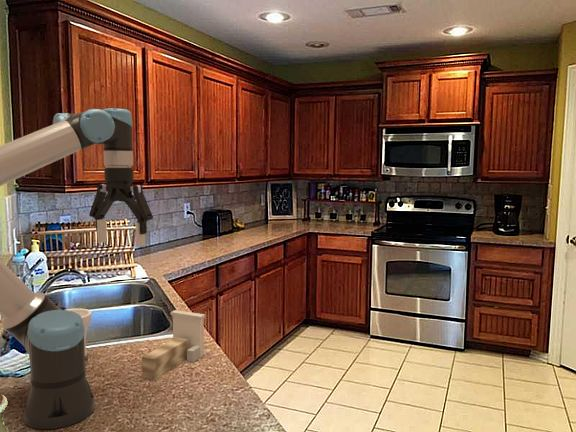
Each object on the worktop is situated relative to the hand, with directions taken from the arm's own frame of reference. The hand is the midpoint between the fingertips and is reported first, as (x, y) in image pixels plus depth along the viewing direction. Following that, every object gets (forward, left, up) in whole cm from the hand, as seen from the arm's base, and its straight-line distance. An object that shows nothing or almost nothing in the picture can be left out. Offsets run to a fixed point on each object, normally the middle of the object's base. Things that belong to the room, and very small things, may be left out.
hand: (121, 244), depth 133 cm
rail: (+7, -9, -37) cm, 39 cm away
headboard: (+17, -9, -37) cm, 41 cm away
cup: (0, +20, -37) cm, 42 cm away
